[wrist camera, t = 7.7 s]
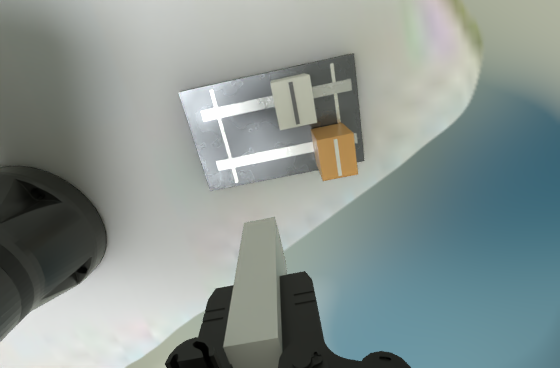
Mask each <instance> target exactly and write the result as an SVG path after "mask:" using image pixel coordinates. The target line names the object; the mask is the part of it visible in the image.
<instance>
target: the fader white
mask: <svg viewBox="0 0 560 368" xmlns="http://www.w3.org/2000/svg"><path fill="white" fill-rule="evenodd" d="M270 85H271V90H272V95H273V100H274V104H275V109H276V114H277V119H278V124H279V129H280V130H284V129H289V128H294V127H299V126H303V125H308V124H313V123H317V118H316V112H315V105H314V99H313V93H312V86H311V80H310V75H309V74H305V73H303V74H299V75H294V76H290V77H285V78H280V79H276V80H271V83H270Z"/></svg>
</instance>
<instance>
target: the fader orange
mask: <svg viewBox="0 0 560 368" xmlns="http://www.w3.org/2000/svg"><path fill="white" fill-rule="evenodd" d="M311 135H312V141H313V147H314V153H315V159H316V165H317V167H318V170H319V172H320V175H321V177H322V180H323V181H326V180H331V179H336V178H341V177H347V176H352V175H357V174H358V169H357V160H356V151H355V142H354V133H353V132H352V131H351V130H350V129H349V128H347V127H346V126H345V125H344V124H343V123H338V124H334V125H329V126H324V127H319V128H314V129H311Z"/></svg>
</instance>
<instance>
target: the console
mask: <svg viewBox="0 0 560 368" xmlns="http://www.w3.org/2000/svg"><path fill="white" fill-rule="evenodd" d="M303 73H305V74H309V75H310V80H311V86H312V93H313V99H314V105H315V112H316V118H317V123H313V124H308V125H303V126H299V127H294V128H289V129H284V130H280V129H279V124H278V119H277V114H276V109H275V104H274V100H273V95H272V90H271V85H270V83H271V80H276V79H280V78H285V77H290V76H294V75H299V74H303ZM178 93H179V96H180V99H181V102H182V106H183V109H184V112H185V115H186V118H187V121H188V124H189V127H190V130H191V133H192V136H193V139H194V142H195V146H196V149H197V152H198V155H199V158H200V161H201V164H202V167H203V170H204V173H205V176H206V179H207V182H208V186H209V189H210V191H213V190H218V189H223V188H228V187H233V186H238V185H244V184H249V183H254V182H259V181H264V180H269V179H274V178H279V177H284V176H290V175H295V174H300V173H305V172H310V171H315V170H318V167H317V165H316V159H315V153H314V147H313V141H312V135H311V129H314V128H319V127H324V126H329V125H334V124H338V123H343V124H344V125H345V126H346V127H347V128H349V129H350V130H351V131H352V132H353V133H354V142H355V151H356V160H357V162H361V161H364V153H363V143H362V132H361V122H360V112H359V102H358V92H357V82H356V72H355V62H354V54H348V55H344V56H339V57H335V58H330V59H326V60H321V61H317V62H312V63H308V64H303V65H298V66H294V67H289V68H285V69H280V70H276V71H271V72H267V73H262V74H258V75H253V76H249V77H244V78H240V79H235V80H231V81H226V82H222V83H217V84H213V85H208V86H203V87H199V88H194V89H190V90H185V91H181V92H178Z"/></svg>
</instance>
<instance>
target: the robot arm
mask: <svg viewBox="0 0 560 368" xmlns="http://www.w3.org/2000/svg"><path fill="white" fill-rule="evenodd" d="M105 248H106V233H105V229H104V225H103V223H102V220H101V218H100V216H99V214H98V212H97V211H96V209H95V208H94V206H93V205H92V204H91V203H90V201H89V200H88V199H87V198H86V197H85V196H84V195H83V194H82V193H81V192H80V191H79V190H77V189H76V188H75V187H74V186H72V185H71V184H69V183H68V182H66V181H64V180H63V179H61V178H59V177H57V176H55V175H53V174H50V173H48V172H45V171H42V170H39V169H35V168H30V167H22V166H9V167H2V168H0V342H1V341H2V340H3V339H4V338H5V337H6V335H7V334H8V333H9V332H10V331H11V330H12V329H13V328H14V327H15V326H16V325H17V324H18V323H19V322H20V321H21V320H22V319H23V318H24V317H25V316H26V315H27V314H28V313H29V312H31V311H32V310H34V309H36V308H38V307H39V306H41V305H43V304H45V303H47V302H48V301H50V300H52V299H54V298H55V297H57V296H59V295H61V294H63V293H64V292H66V291H68V290H70V289H71V288H73V287H75V286H77V285H78V284H80V283H81V282H82V281H83V280H84V279H86V278H87V277H88V276H89V274H90V273H91V272H92V271H93V270H94V269H95V268H96V267H97V265H98V264H99V263H100V261H101V260H102V258H103V255H104V252H105ZM165 365H166V367H167V368H411V367H410V366H409V365H408V364H407V363H406V362H405V361H404V360H403V359H402V358H401V357H399V356H397V355H395V354H393V353H389V352H383V351H379V352H374V353H370V354H369V355H368V356H366V357H365V358H363V360H362V361H356V360H350V359H346V358H342V357H340V356H338V355H336V354H334V353H333V352H332V351H331V350H330V349H329V348H328V347H327V346H326V344H325V342H324V338H323V332H322V327H321V322H320V317H319V312H318V306H317V302H316V297H315V292H314V287H313V282H312V279H311V278H310V277H309V276H308V274H307V273H306V272H305V271H304V272H299V273H293V274H288V275H287V270H286V261H285V257H284V253H283V249H282V244H281V240H280V236H279V232H278V228H277V224H276V220H275V217H272V218H267V219H262V220H257V221H252V222H247V223H244V227H243V233H242V239H241V244H240V250H239V256H238V262H237V268H236V274H235V280H234V285H233V286H227V287H222V288H217V289H215V291H214V292H213V294H212V295H211V296H210V298H209V299H208V302H207V306H206V310H205V314H204V317H203V323H202V325H201V329H200V332H199V336H198V338H196V337H195V338H192V339H189V340H186V341H185V342H183V343H182V344H180V345H179V346H177V347H176V348H175V349H174V351H173V352H172V353H171V354H170V355H169V357H168V359H167V361H166V363H165Z"/></svg>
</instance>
